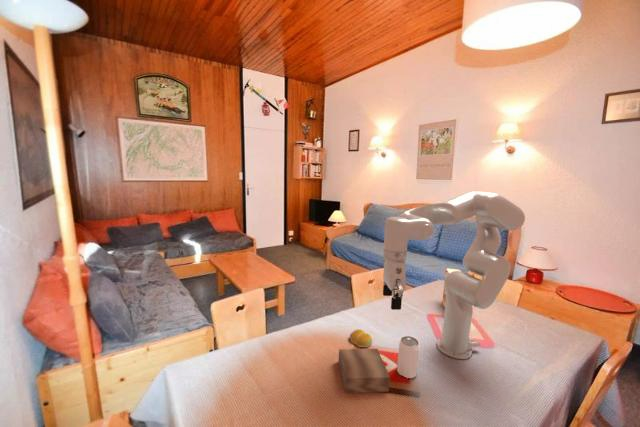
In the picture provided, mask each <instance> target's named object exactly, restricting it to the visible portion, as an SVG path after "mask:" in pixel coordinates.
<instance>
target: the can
mask: <svg viewBox="0 0 640 427" xmlns="http://www.w3.org/2000/svg"><path fill="white" fill-rule="evenodd" d="M419 354H420V345H419V341H418V339H416V338H415V337H413V336H409V335H405V336H402V337H401V339H400V341H399V345H398V354H397V355H398V356H397V364H396V366H397V367H396V371H397V373H398V374H399V376H401V375H402V376H404V377H407V378H406V379H408V378H411V379H413V378H416V376H417V372H418V363H419ZM402 376H401V377H402ZM404 377H403V378H404Z"/></svg>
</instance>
